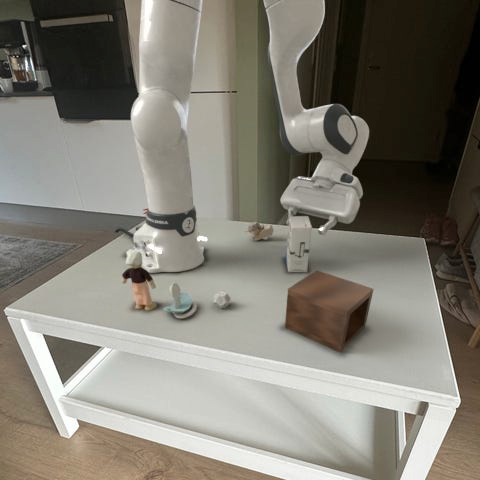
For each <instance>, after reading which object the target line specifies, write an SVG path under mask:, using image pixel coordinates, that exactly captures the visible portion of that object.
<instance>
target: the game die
mask: <svg viewBox="0 0 480 480" xmlns="http://www.w3.org/2000/svg"><path fill="white" fill-rule="evenodd" d="M213 304H214V305H215V307H217V308H219V309H220V310H222V309H225V308H228V307H229V306H230V304H231V296H230V295H229V294H228V293H227V292H226V291H223V290H222V291H218V292H216V293H215V295H214V296H213Z"/></svg>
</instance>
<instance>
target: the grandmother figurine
mask: <svg viewBox="0 0 480 480" xmlns="http://www.w3.org/2000/svg"><path fill="white" fill-rule="evenodd" d="M142 258H143V257H142V254H141V253H140V252H139V251H136V250H135V251H132V252H130V253H129V254H128V256H127V255H126V258H125V264H126V265H127V266H130V267H129V268H127V269H125V270H124V272H123V273H122V274H121V276H122V278H121V283H122V284H126V283H127V282H128V279H130V280H131V286H132V293H133V296H134V300H135V304H136V305H135V307H134V308H135V309H136V310H142V309H143V308H144V310H145V311H152V310H154V309H155V308H157V303H156V302H154V301H152V296H151V292H150V288H151V289H152V290H155V289H156V288H157V285H156V283H155V281H154V279H153V277H152V275H151V273H149V272H148V271H147V270H145V269H144V268H142V267H141V266H142ZM149 285H150V286H149Z"/></svg>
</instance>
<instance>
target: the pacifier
mask: <svg viewBox="0 0 480 480" xmlns="http://www.w3.org/2000/svg"><path fill="white" fill-rule="evenodd" d="M168 291H169V295H170V297H171V298H172V299H171V300H172V301H171V304H170V305H166V306H165V307H163V308H162V310H163V311H166V312H168V313H169V312H170V313H172V314H173V316H174V317H175V318H176V319H186V318H189V317H191V316H192V315H194V314H195V312H196V311H197V309H198V305H197V303H196V302H194V301H193V298H192V296H191V295H190V294H189V293H188V292H181V287H180V285H179V284H178V283H175V282H174V283H172V284H171V285H170V286H169V289H168ZM191 307H192V308H191ZM190 308H191V310H189V309H190ZM188 310H189V311H188ZM186 311H188V312H186ZM185 312H186V313H185Z"/></svg>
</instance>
